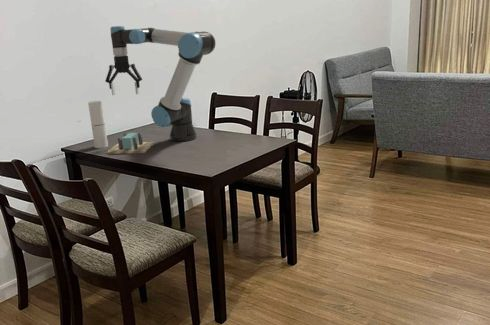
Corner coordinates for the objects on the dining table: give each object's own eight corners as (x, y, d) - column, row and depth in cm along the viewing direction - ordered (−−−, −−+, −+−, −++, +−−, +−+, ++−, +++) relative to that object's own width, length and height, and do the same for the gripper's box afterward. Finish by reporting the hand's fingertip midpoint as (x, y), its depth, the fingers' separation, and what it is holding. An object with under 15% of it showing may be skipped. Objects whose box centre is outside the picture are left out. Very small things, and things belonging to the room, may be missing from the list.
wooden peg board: (154, 143, 270) (152, 131, 268) (144, 152, 253) (142, 139, 251) (119, 144, 273) (117, 132, 271) (107, 153, 256) (105, 140, 253)
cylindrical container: (104, 148, 267) (97, 102, 260) (92, 148, 269) (85, 103, 262) (110, 144, 274) (104, 100, 267) (98, 144, 276) (92, 100, 268)
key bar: (131, 149, 257) (130, 138, 255) (123, 149, 257) (121, 138, 256) (138, 143, 268) (137, 132, 267) (130, 143, 269) (129, 132, 267)
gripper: (144, 53, 269) (149, 92, 275) (101, 55, 271) (106, 94, 277) (141, 55, 262) (145, 94, 268) (96, 57, 264) (101, 96, 270)
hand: (125, 94), depth 273 cm, fingers open, 13 cm apart
